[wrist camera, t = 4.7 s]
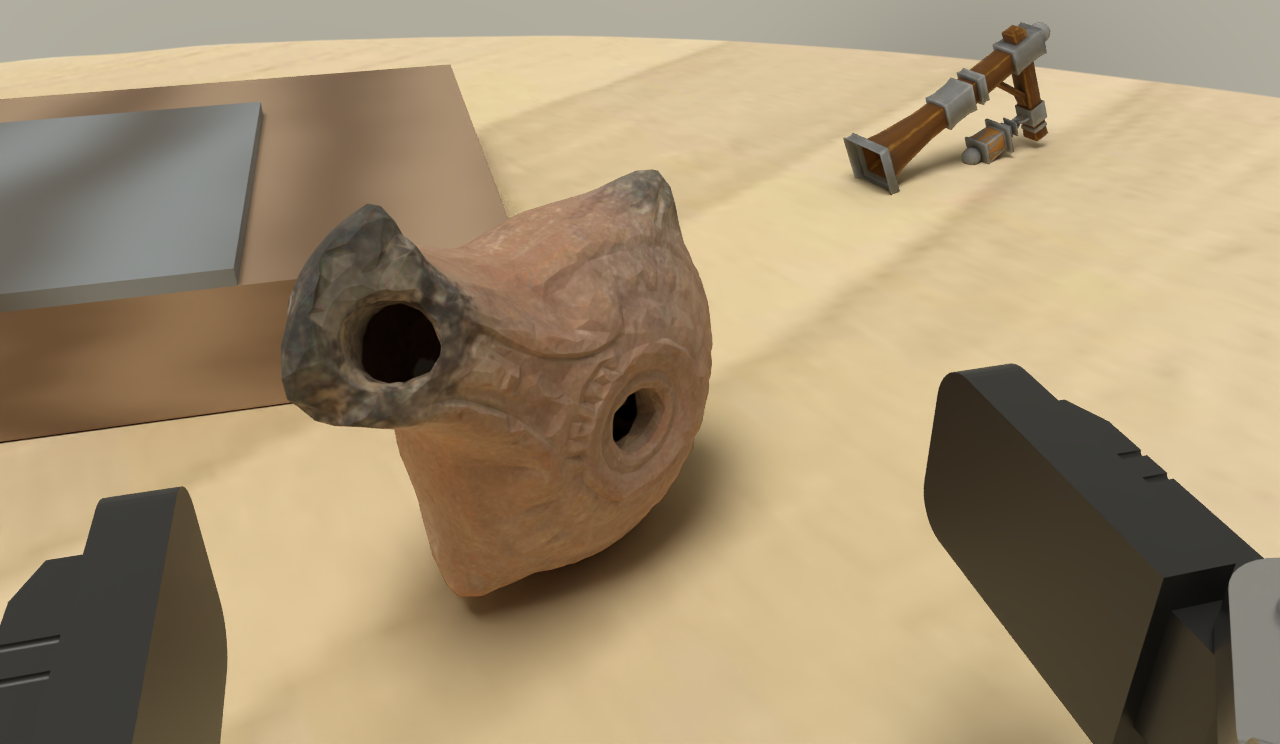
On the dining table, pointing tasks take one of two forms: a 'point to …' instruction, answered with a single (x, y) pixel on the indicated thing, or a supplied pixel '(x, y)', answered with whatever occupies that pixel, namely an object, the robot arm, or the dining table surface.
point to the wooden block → (203, 230)
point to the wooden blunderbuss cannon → (963, 111)
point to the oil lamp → (514, 370)
